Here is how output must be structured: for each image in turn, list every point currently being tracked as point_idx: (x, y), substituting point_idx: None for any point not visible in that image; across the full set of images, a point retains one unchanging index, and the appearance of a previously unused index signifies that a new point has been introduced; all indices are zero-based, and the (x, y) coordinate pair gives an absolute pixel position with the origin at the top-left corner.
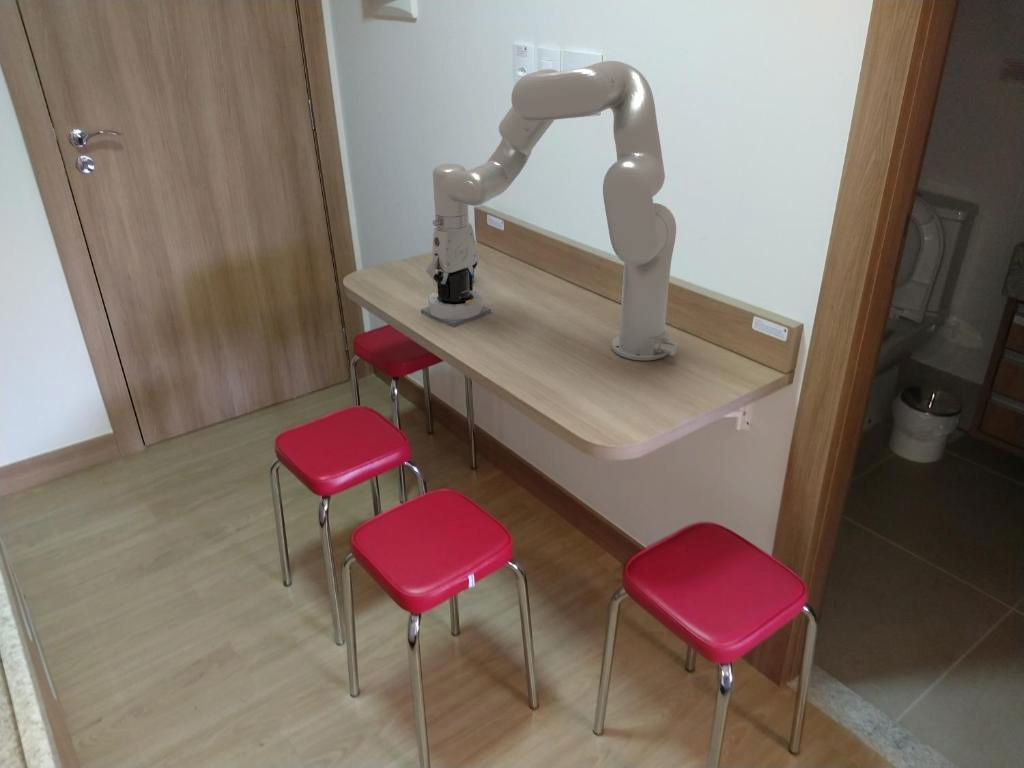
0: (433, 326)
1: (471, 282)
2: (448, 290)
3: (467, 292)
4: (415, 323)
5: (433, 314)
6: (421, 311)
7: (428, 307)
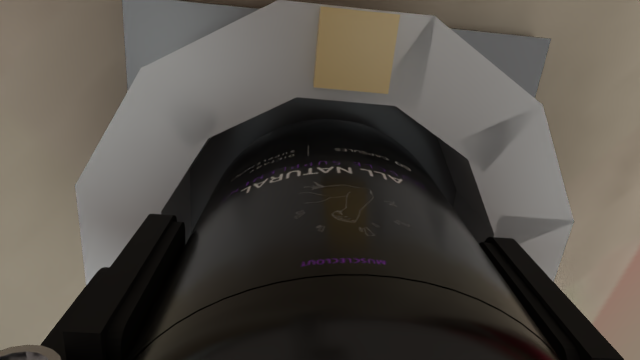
0: (581, 162)
1: (130, 263)
2: (521, 291)
3: (297, 164)
4: (592, 274)
5: None
6: None
7: None
